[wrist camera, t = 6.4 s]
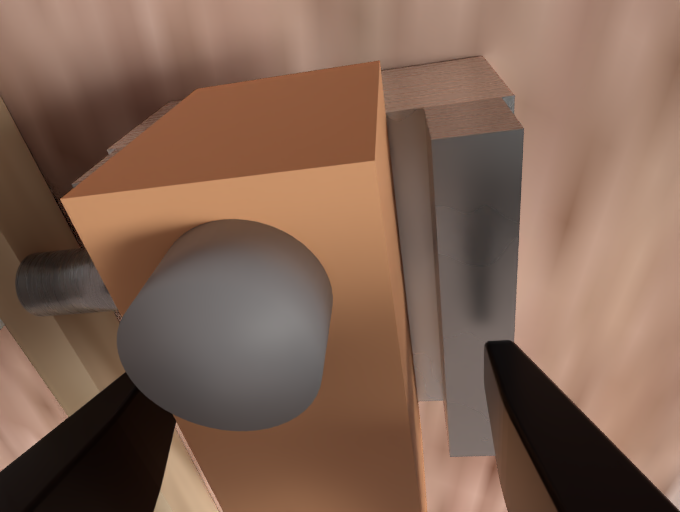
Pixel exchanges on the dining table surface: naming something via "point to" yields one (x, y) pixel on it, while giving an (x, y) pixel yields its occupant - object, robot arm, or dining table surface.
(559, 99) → the dining table surface
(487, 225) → the block
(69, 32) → the dining table surface
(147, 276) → the crank handle
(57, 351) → the bay
